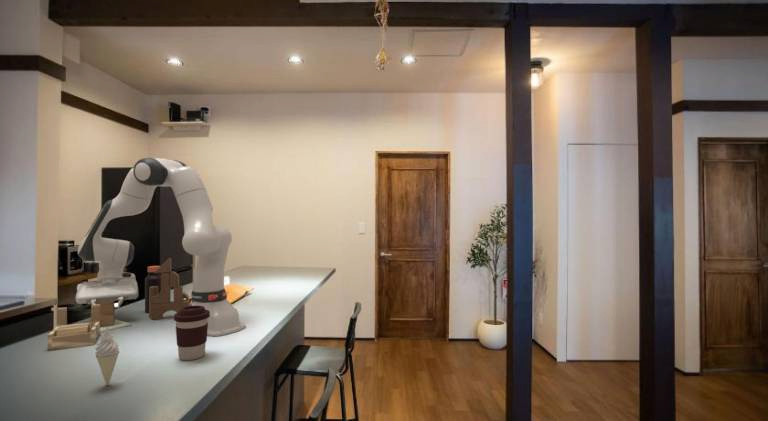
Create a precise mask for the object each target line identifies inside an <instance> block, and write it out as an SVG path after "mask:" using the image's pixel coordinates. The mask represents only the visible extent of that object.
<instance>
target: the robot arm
mask: <svg viewBox="0 0 768 421" xmlns="http://www.w3.org/2000/svg"><path fill="white" fill-rule="evenodd" d="M157 187H162V188H165V187H166V188H167V187H168V188H169V187H170V188H171V189H172V191H173V194H174V196H175V199H176V202H177V205H178V207H179V210H180V213H181V216H182V220H183V231H184V233H183V234H184V235H183V237H182V240H181V245H182V248H183V250H184V251H185V252H186V253H187V254H189V255H190V256H191V255H193V256H197V257H198V259H197V262H196V264H195V266H194V268H193V271H192V290H191V294H190V296H191V301H192V302H191V305H190V306H195V305H199V306H204V308H205V310H209V311H210V316H209V317H208V319H207V322H208V329H207V336H209V337H219V336H225V335H229V334H232V333H236V332H239V331H241V330H243V329H245V328H246V327H247V326H246V323H243V322H241V321H240V315H239V311H238V309H237V308H235V307H234V306H233V304H232V303H231V302H230V301H229V300H228V294H229V292H228V291H226V288H225V266H226V262H227V261H226V260H227V256H228V251H229V249H230V248H229V247H230V246H231V243H232V240H233V236H232V233H231V232H230V230H229V229H227V228H226V227H224V226H221V225H214V223H213V216H212V215H213V214H212V213H213V205H212V203H211V200H210V199H211V198H210V197H209V195H208V192H207V189H206V187H205V185H204V182H203V180H202V178H201V177H200V175H199V173H198V172H197V170H196V169H195V168H194V167H192V166H188V165H186V164H185V163H184V162H181V161H179V160H173V159H169V158H164V157H163V158H161V157H145V158H141V159H138V160H137V161H136V162H135V164H134V165H133V167H132V168H130V170H129V171H128V173H127V174H126V176H125V179H124V180H123V182H122V185H121V188H120V192H119V193H118V195H116V197H114V198H113V199H109V200H107V201H106V202H105V203H104V204H103V205H102V207H101V209H100V210H99V212H98V214H97V215H96V217H95V219H94V221H93V222H92V224H91V226H90V228H89V230H88V231H87V233H86V234H85V236H84V238H83V239H82V240H81V241H80V243H79V244H78V247H77V255H78V257H79V258H80V259H81V260H82V261H84V262H93V263H94V262H99V263H98V267H99V270H98V272H97V277H96V280H94V281H93V280H91V281H82V283H79V284H77V286H76V291H77V292H76V294H75V302H76V303H77V304H78V305H82V304H91V305H97V304H98V303H100V302H101V301H112V300H115V301H118V302H116V303H115V306H114V308H115V310H120V306H121V305H122V304H123V302H124V301H127V300H136V299H137V298H138V297H139V285H138V282H137V279H136V275H135V274H134V273H132V272H127V271H126V272H125V271H124V268H126V267H127V266H128V265H130V264H131V263H132V262H133V260H134V256H135V246H134V244H133V243H132V242H131V241H128V240H124V239H115V238H108V237H102V236H101V235H102V234H103V232H104V231H105V228H106V227H107V225H108V223H109V222H110V221H111V220H115V219H117V218H121V217H122V218H123V217H128V216H135V215H139V214H141V213H143V212H145V211H147V209H148V208H149V206H150V205H151V202H152V199H153V196H154V193H155V190H156V188H157Z"/></svg>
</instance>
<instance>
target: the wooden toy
mask: <svg viewBox="0 0 768 421" xmlns="http://www.w3.org/2000/svg"><path fill="white" fill-rule="evenodd" d="M159 266H160V267H159V268H158V269H157V270H156V271H155V272H154V273H159V274H160V275H161V291H160V293H159V294H158V286H151V287H149V313H148V316H149V318H151V320H162V319H163V316H164V314H165V313H167V312H171V311H174V312H175V313H178V312H179V310H180V309H181V308H183V307H187V306H191V305H190V302H191V301H190V296H189V295H188V293H186V292H184V286H183V285H180V275H179V273H177V272H175V271H172V258H171V257H169V258H168V259H166V261H165V262H164V263H163V264H161V265H159ZM171 289H173V300H172V299H171V294H172V292H171V291H172V290H171ZM185 299H186V300H185ZM171 300H172V301H171Z"/></svg>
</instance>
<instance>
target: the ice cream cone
mask: <svg viewBox="0 0 768 421" xmlns="http://www.w3.org/2000/svg"><path fill="white" fill-rule="evenodd" d="M100 340H101V341H100V342H99V343H98V344H97V347H95V349H94V350H95V351H96V352H95V358H96V360H97V363H98V365H99V369H100V371H101V374H102V376H103V380H104V383H105V386H107V385H108V386H109V385H110V382H111V378H112V376H113V373H114V372H113V371H114V369H115V366H116V362H117V360H118V356H119V354H120V349H119V346H120V345H119V344H118V342H117V341H115V339H114V335H112V333H111V330H109V329H108V327H107V328H106V331H104V333H103V335H102V337H101V338H100Z"/></svg>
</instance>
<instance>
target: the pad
mask: <svg viewBox="0 0 768 421" xmlns="http://www.w3.org/2000/svg"><path fill="white" fill-rule="evenodd" d="M129 325H130V326H132V323H129V322H126V321H123V320H121V319H116V318H115V323H114V325H113V326H109V327H108V329H109V331H111V330H116V328H117V329H121V328H125V327H130V326H129ZM90 327H91V324H90ZM120 327H121V328H120ZM106 328H107V327H100V333H103V332H104V333H105V331H106Z"/></svg>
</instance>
